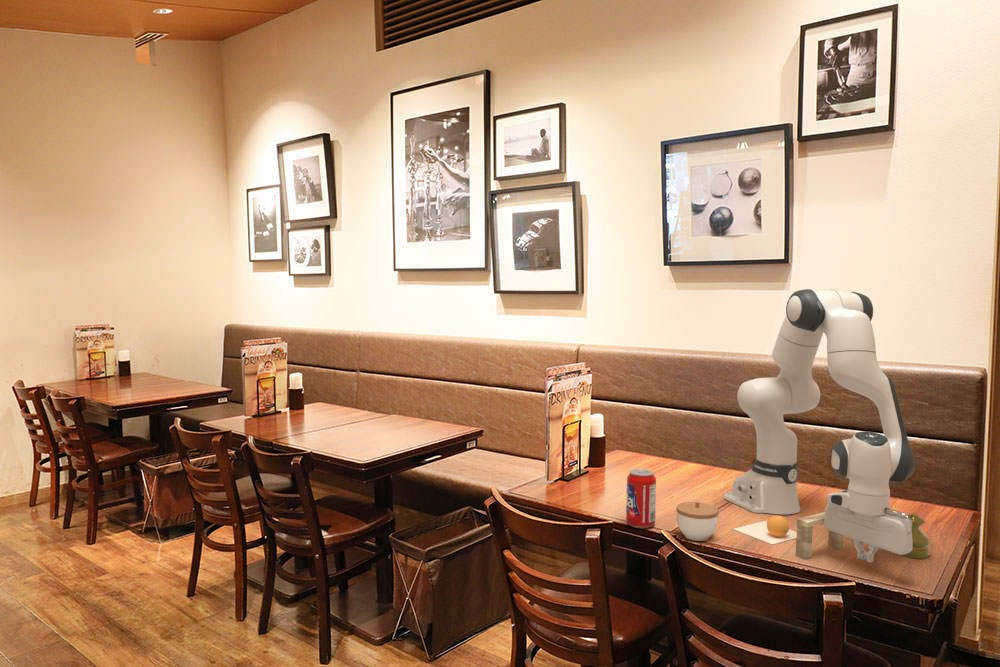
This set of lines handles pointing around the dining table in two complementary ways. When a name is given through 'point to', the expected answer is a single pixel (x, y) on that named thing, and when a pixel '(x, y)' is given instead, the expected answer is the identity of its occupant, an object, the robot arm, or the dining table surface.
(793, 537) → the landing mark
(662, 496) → the dining table surface
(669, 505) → the dining table surface
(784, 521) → the ball
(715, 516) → the lidded jar
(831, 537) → the bridge
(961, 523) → the dining table surface
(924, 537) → the green tiered figurine
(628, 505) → the soda can
